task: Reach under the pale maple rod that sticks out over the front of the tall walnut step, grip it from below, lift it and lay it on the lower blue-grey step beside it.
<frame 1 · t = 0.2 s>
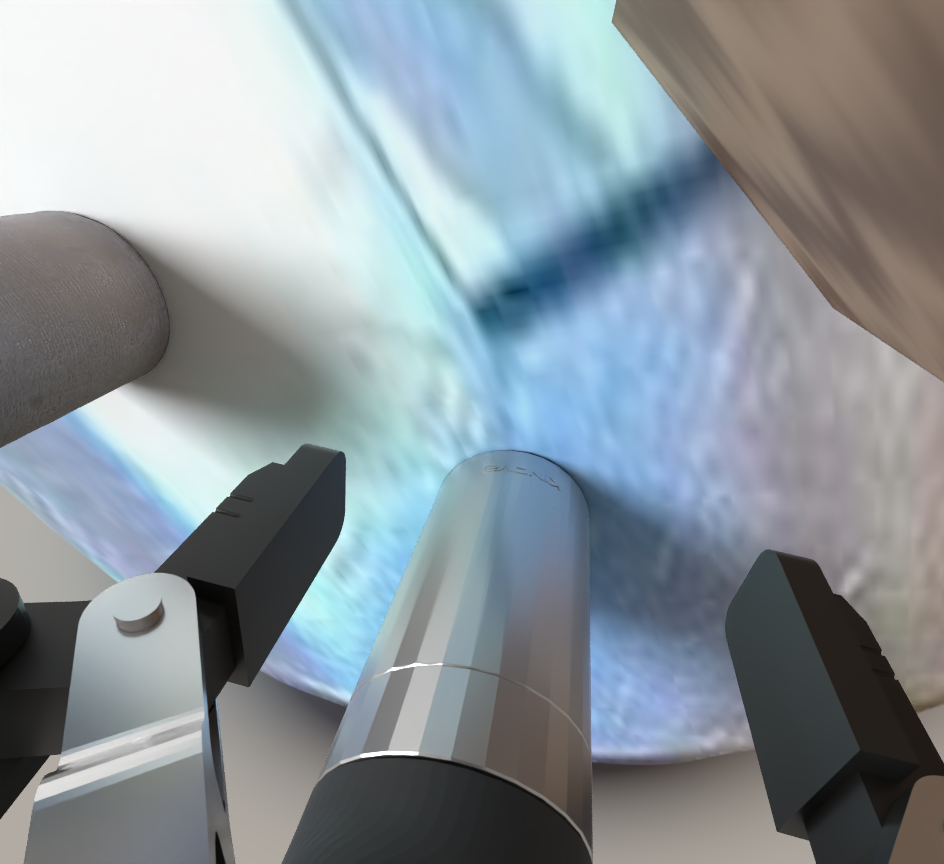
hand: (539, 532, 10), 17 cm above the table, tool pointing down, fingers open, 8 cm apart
pillar candle: (96, 296, 30), on the table
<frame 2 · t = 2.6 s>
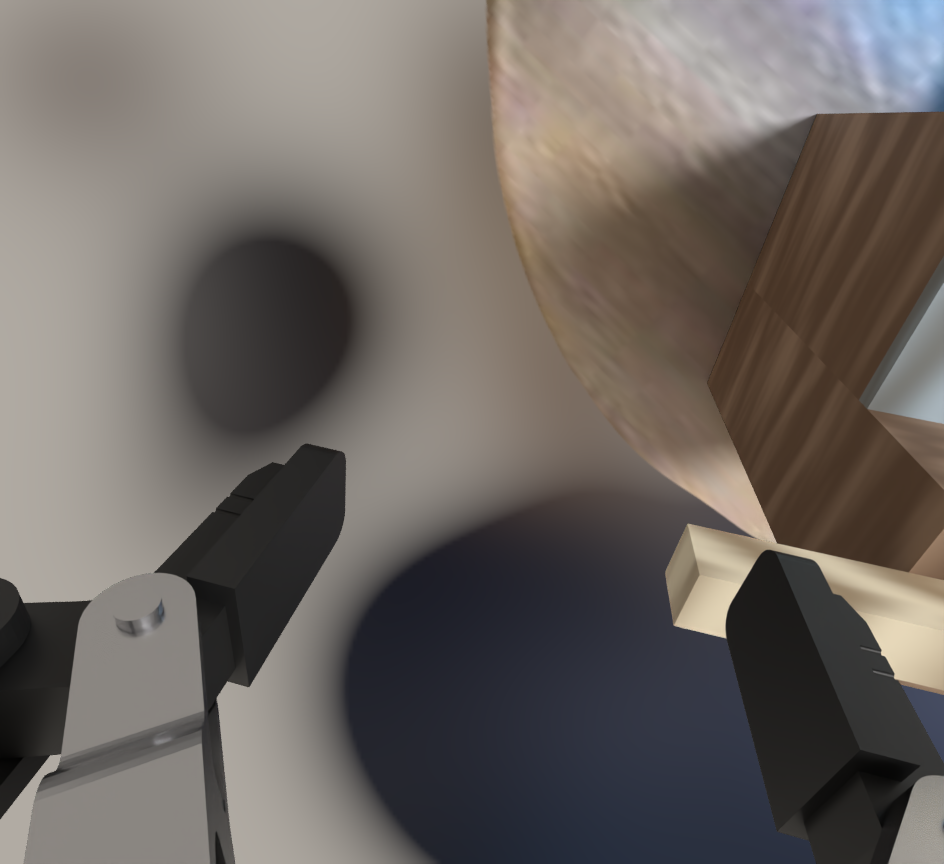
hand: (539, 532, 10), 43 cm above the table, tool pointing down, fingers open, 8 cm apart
maple rod: (938, 608, 22), point 32 cm above the table, touching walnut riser
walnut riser: (844, 281, 45), on the table
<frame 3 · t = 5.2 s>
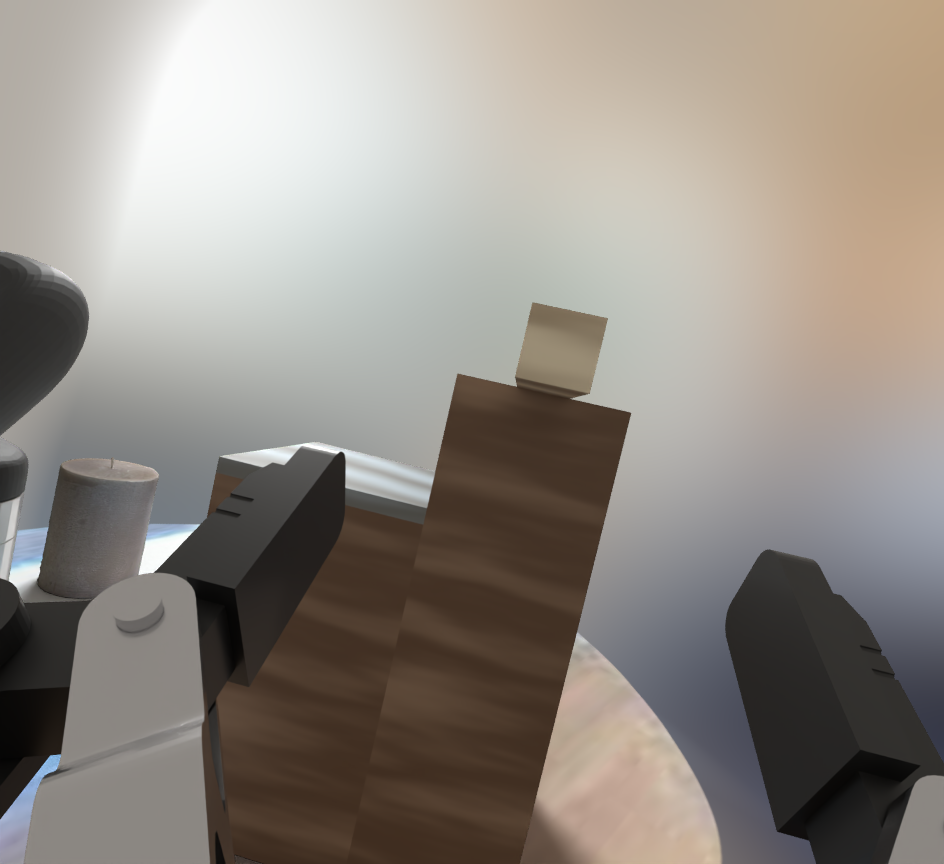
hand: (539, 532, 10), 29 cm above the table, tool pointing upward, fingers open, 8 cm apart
maple rod: (541, 394, 32), point 32 cm above the table, touching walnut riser
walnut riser: (356, 792, 40), on the table
pillar candle: (90, 583, 62), on the table
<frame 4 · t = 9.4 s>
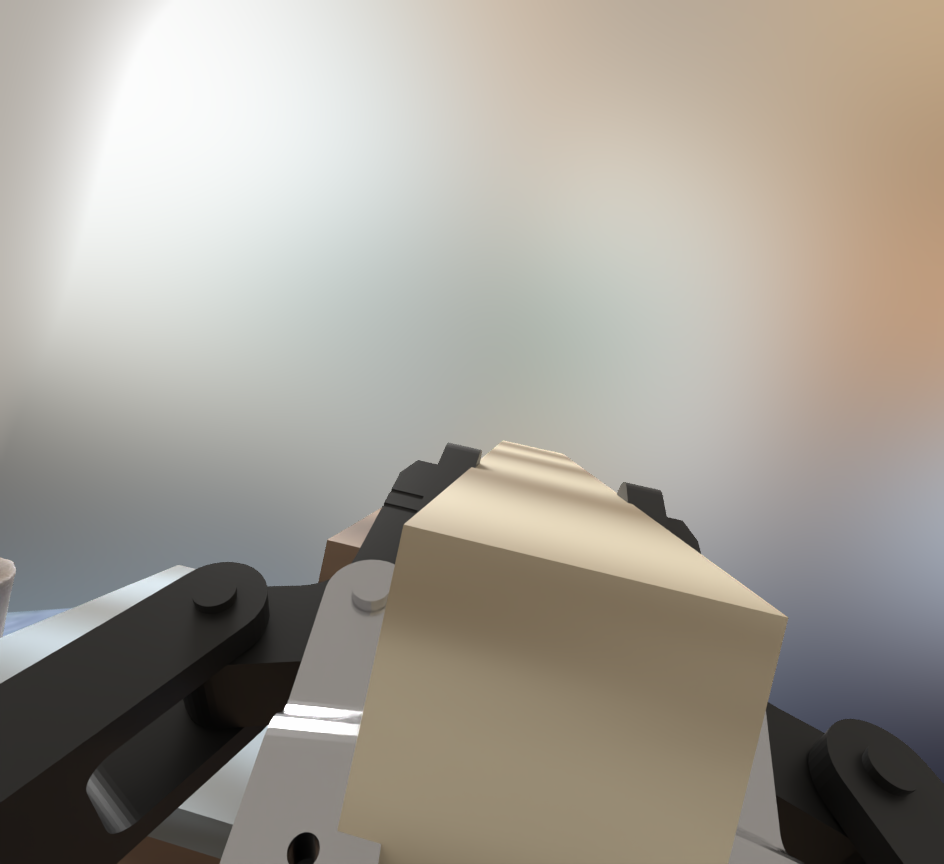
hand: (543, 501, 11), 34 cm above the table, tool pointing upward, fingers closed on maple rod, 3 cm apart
maple rod: (517, 565, 15), point 32 cm above the table, touching gripper, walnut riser
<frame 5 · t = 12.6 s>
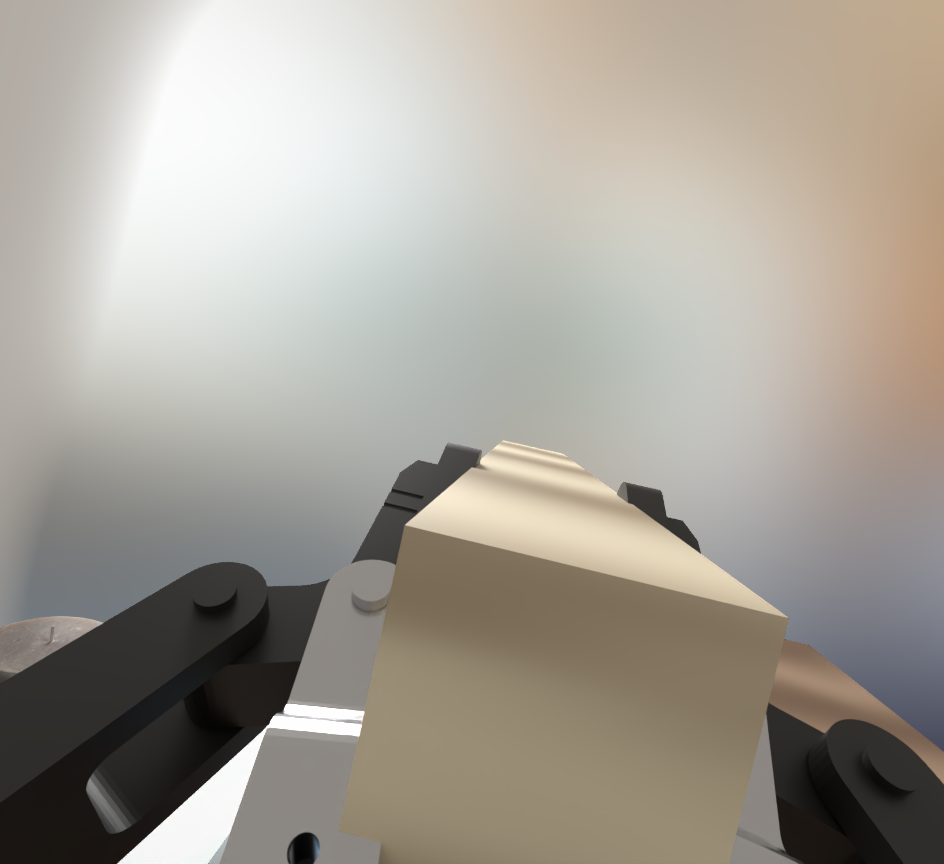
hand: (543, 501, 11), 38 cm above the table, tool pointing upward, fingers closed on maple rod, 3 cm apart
maple rod: (517, 565, 15), point 36 cm above the table, touching gripper
pillar candle: (21, 799, 44), on the table
when the fingers open (28 cm above the table, at t = 15.8 s): maple rod drops 1 cm, resting on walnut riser.
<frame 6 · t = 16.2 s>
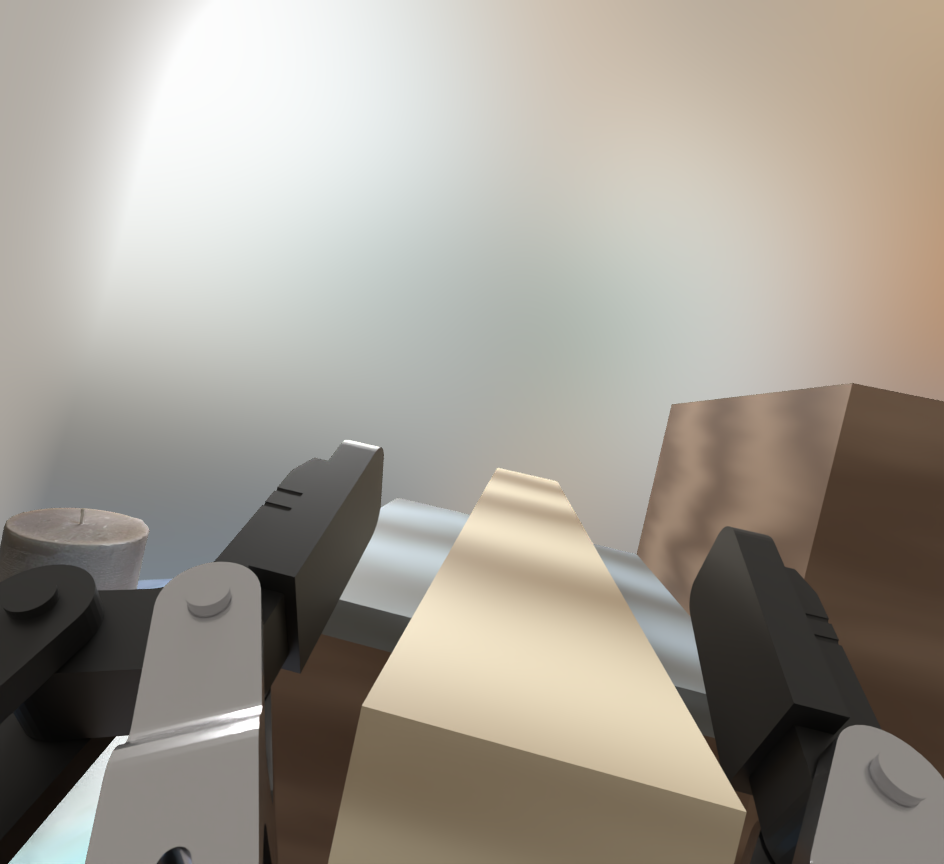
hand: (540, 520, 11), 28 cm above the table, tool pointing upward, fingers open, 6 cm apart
maple rod: (506, 614, 15), point 24 cm above the table, touching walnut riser
pillar candle: (50, 686, 44), on the table
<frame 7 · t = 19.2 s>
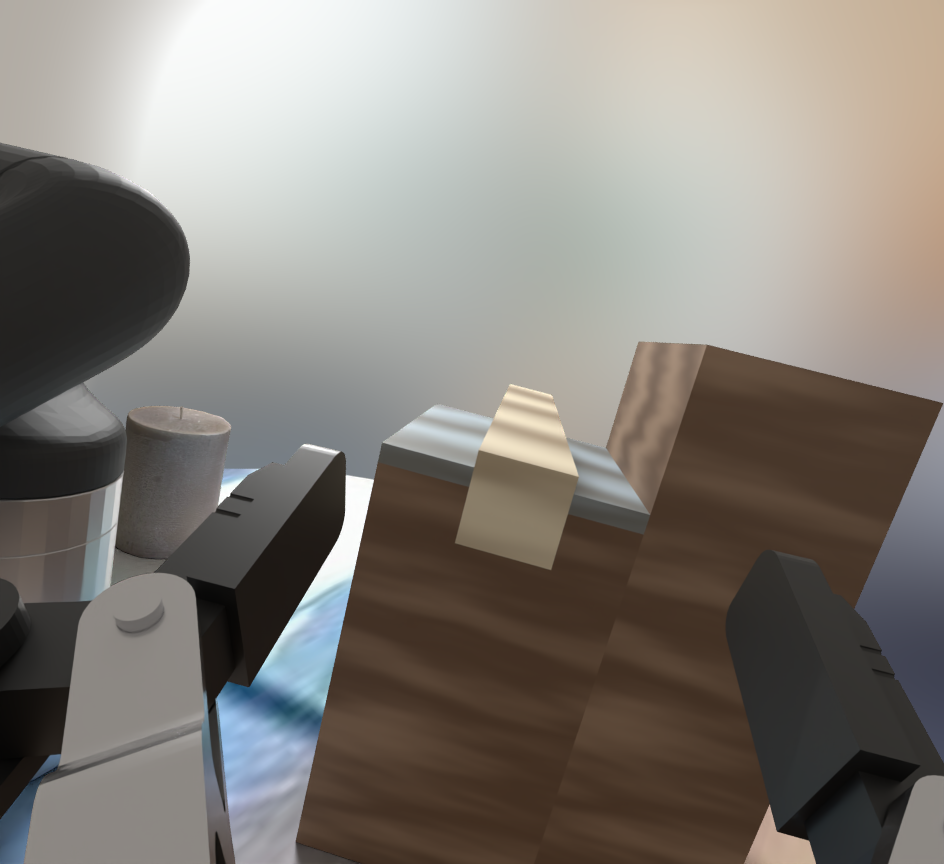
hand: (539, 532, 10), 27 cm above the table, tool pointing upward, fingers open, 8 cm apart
maple rod: (514, 468, 27), point 24 cm above the table, touching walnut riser
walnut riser: (499, 791, 37), on the table
pillar candle: (164, 539, 58), on the table
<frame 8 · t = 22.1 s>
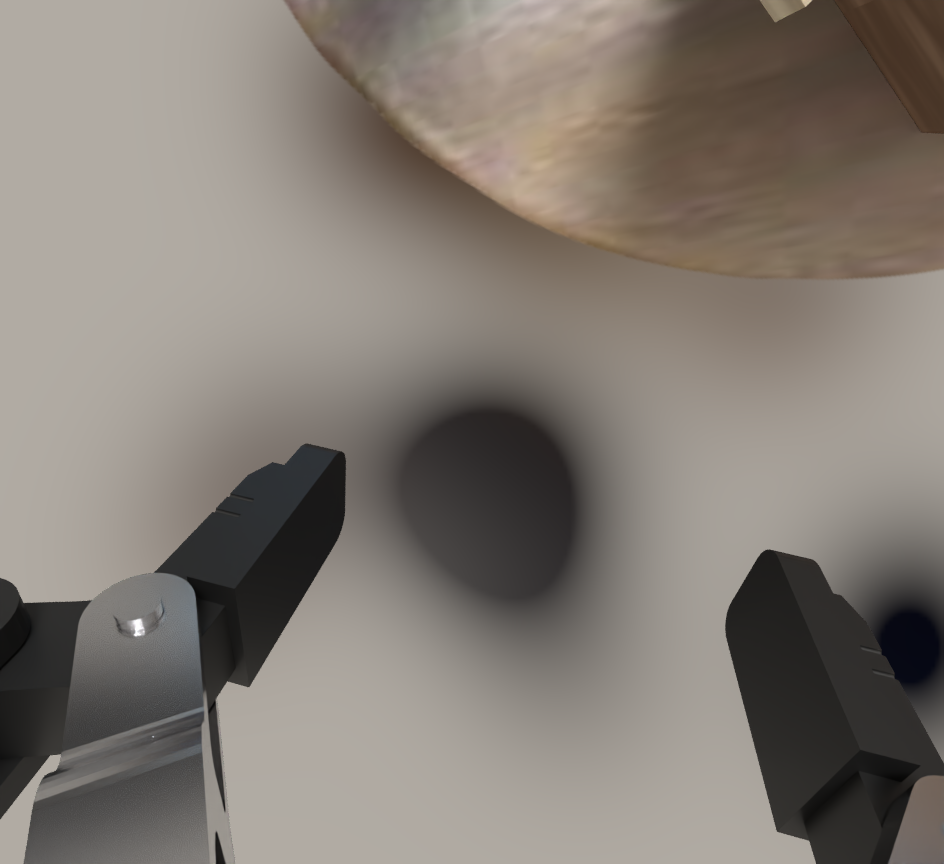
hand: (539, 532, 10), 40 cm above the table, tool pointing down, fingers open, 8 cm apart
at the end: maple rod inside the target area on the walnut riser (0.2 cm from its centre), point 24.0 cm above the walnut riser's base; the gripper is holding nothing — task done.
